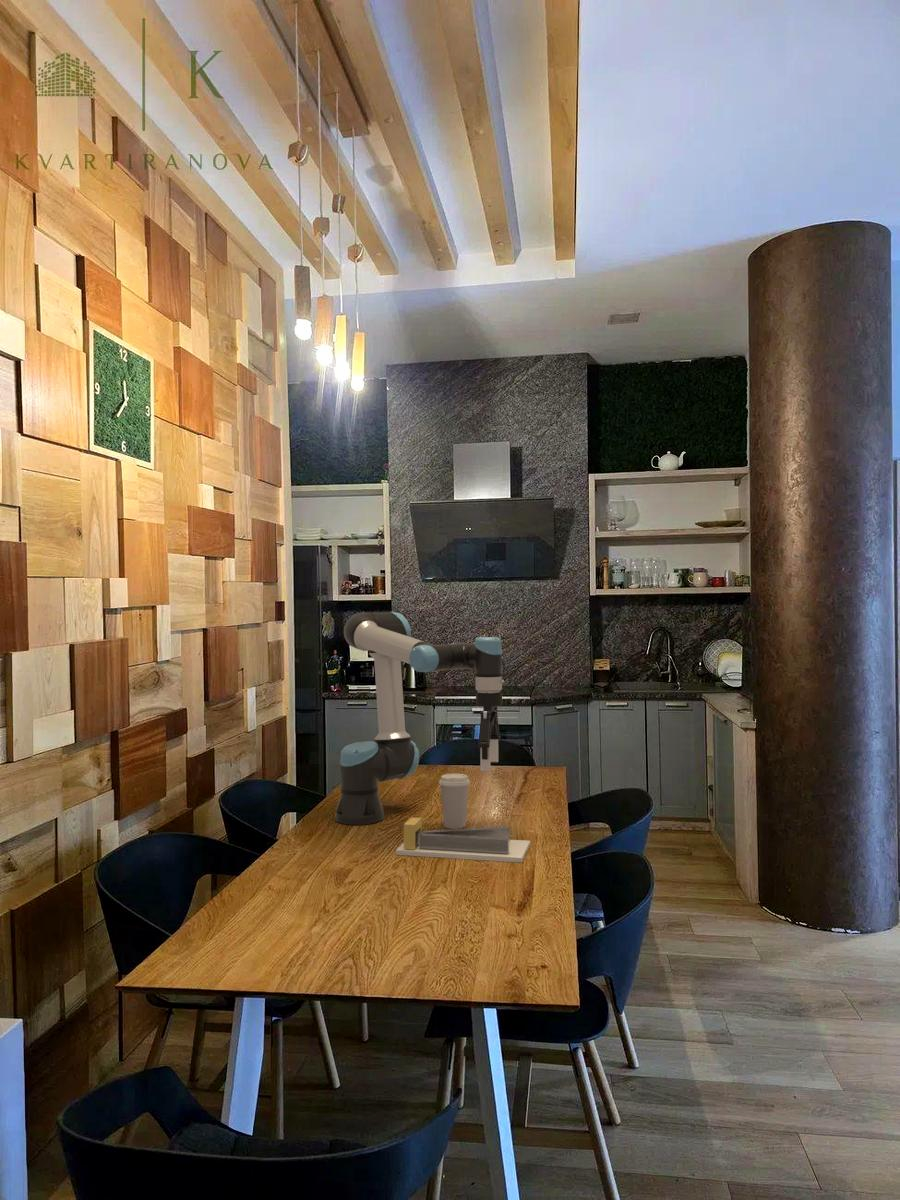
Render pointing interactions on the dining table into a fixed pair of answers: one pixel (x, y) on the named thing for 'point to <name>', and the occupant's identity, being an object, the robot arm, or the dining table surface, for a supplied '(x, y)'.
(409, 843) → the tan boxy piece
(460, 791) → the coffee cup
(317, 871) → the dining table surface
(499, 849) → the tongs fixed
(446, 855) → the board
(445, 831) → the tongs jaw
